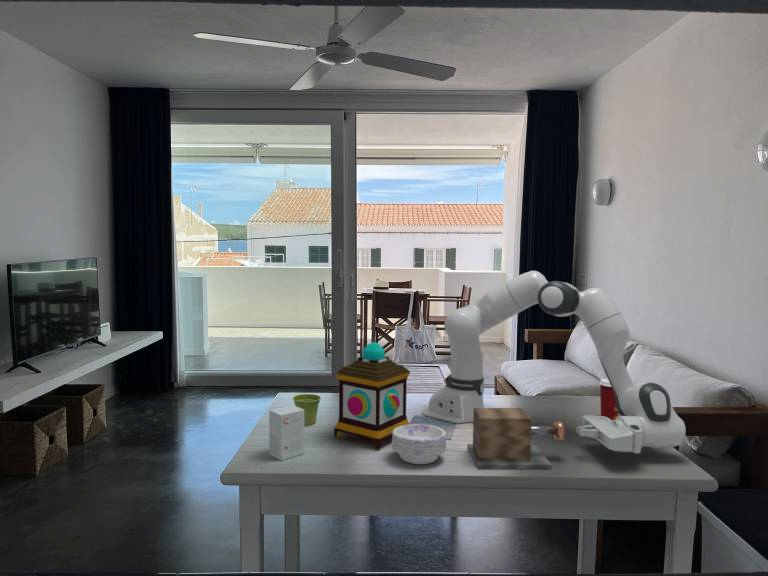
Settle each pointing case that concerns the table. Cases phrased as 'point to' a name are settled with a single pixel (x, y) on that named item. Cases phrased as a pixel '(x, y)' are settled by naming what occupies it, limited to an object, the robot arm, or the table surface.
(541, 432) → the plunger
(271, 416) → the small box
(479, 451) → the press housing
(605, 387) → the paper cup
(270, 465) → the table surface
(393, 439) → the paper bowls
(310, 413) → the plant pot
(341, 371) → the decorative lantern
